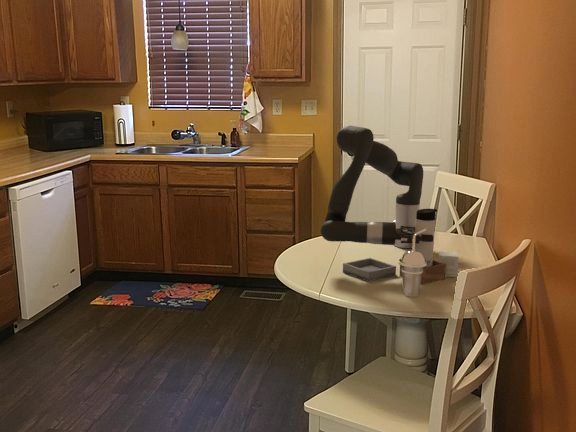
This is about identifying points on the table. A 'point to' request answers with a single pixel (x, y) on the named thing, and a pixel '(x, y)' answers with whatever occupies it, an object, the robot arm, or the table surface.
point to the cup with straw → (412, 269)
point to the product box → (449, 262)
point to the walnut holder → (432, 272)
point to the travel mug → (425, 221)
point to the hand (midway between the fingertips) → (432, 235)
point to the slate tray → (369, 269)
